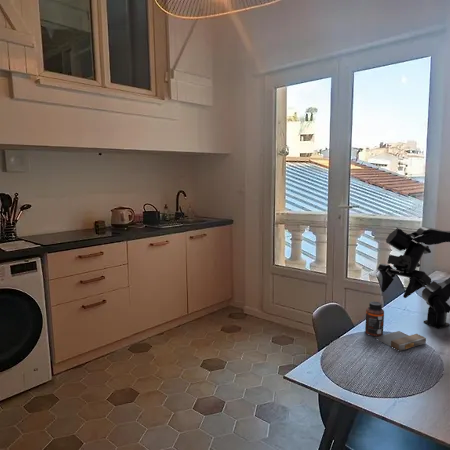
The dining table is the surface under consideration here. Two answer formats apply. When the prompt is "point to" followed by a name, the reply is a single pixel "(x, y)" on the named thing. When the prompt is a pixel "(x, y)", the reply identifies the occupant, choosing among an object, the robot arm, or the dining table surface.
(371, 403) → the dining table surface
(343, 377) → the dining table surface
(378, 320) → the supplement bottle
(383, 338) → the front pad
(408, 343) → the rail
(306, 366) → the dining table surface
